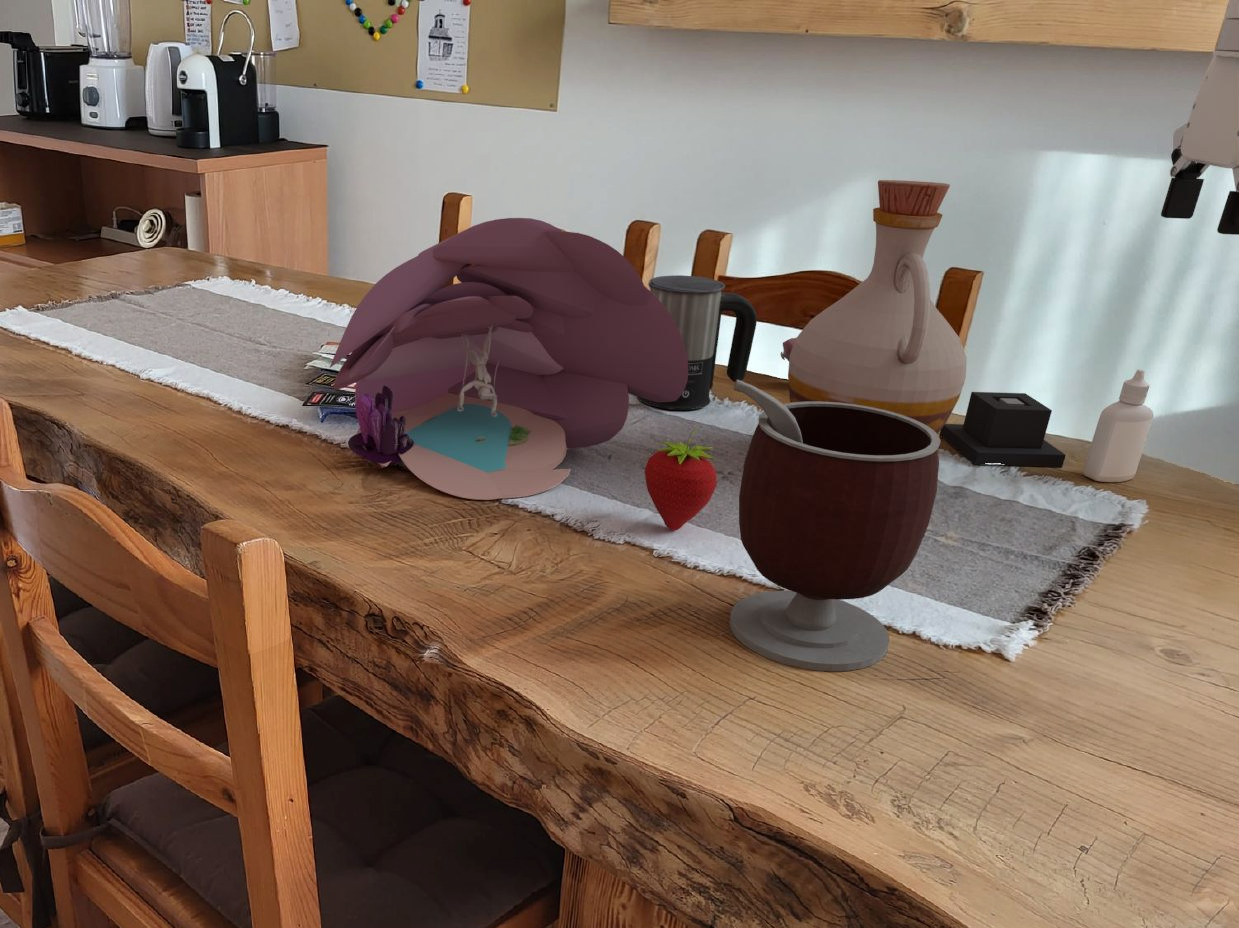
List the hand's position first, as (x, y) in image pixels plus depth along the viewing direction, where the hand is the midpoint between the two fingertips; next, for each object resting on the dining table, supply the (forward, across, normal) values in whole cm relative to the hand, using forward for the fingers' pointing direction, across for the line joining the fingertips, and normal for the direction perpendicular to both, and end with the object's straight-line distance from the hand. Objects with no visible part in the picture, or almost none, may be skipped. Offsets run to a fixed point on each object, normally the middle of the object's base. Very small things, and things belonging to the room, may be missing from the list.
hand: (1203, 225), depth 120 cm
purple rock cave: (+26, -5, +73) cm, 78 cm away
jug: (+26, -3, +32) cm, 42 cm away
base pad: (+26, +4, +13) cm, 30 cm away
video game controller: (+26, +30, +28) cm, 49 cm away
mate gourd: (+26, -41, +50) cm, 70 cm away
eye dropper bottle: (+26, -4, +4) cm, 27 cm away
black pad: (+25, +4, +13) cm, 28 cm away
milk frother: (+26, +24, +47) cm, 59 cm away
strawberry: (+26, -21, +56) cm, 65 cm away
